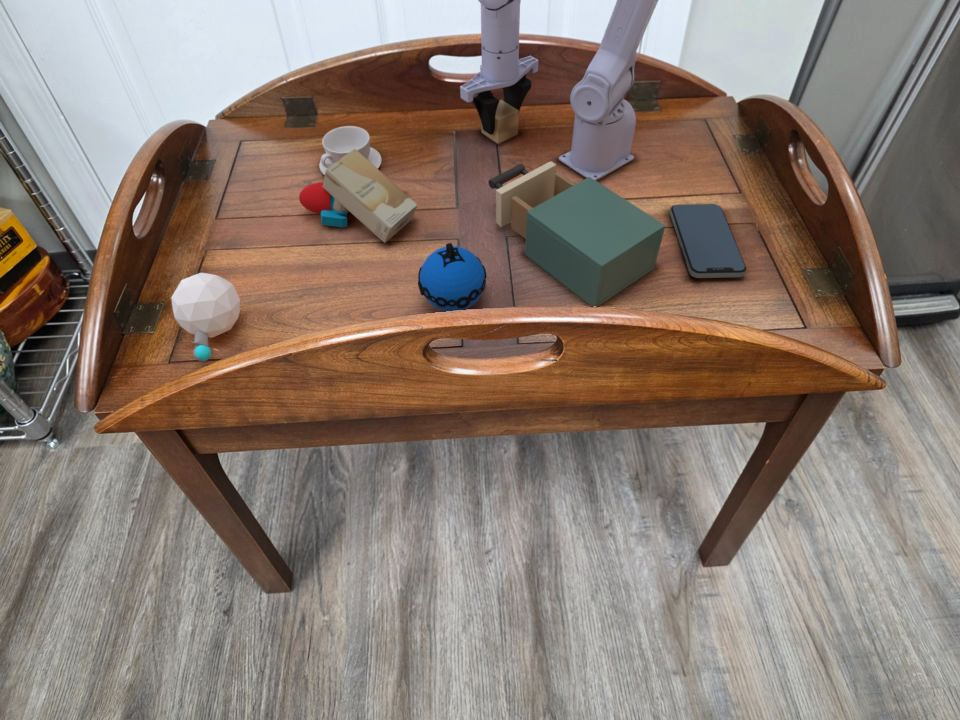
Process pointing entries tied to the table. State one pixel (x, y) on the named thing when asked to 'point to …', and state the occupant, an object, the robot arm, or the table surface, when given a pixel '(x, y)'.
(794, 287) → the table surface
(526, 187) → the drawer
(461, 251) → the ornament
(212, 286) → the perfume bottle
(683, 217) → the smartphone
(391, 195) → the cosmetic box
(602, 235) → the cabinet
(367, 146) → the teacup
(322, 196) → the toy figure
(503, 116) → the block
